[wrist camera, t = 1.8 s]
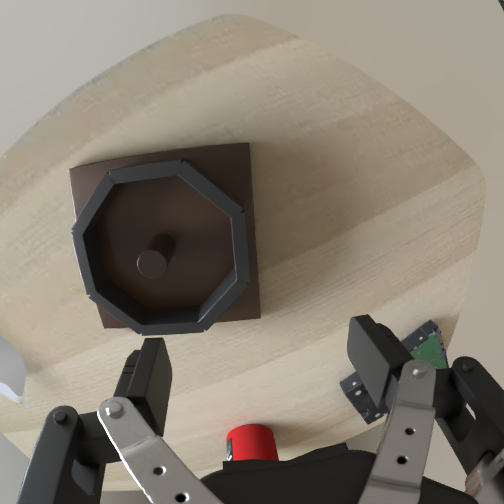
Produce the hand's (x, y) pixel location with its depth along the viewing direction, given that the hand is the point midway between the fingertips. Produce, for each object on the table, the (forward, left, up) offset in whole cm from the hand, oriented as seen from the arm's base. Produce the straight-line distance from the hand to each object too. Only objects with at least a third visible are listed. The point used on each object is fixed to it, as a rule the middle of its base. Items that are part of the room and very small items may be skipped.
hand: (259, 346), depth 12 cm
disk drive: (+21, +20, -17) cm, 34 cm away
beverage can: (+29, -1, -17) cm, 34 cm away
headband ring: (0, -7, -16) cm, 17 cm away
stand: (0, -7, -17) cm, 18 cm away
